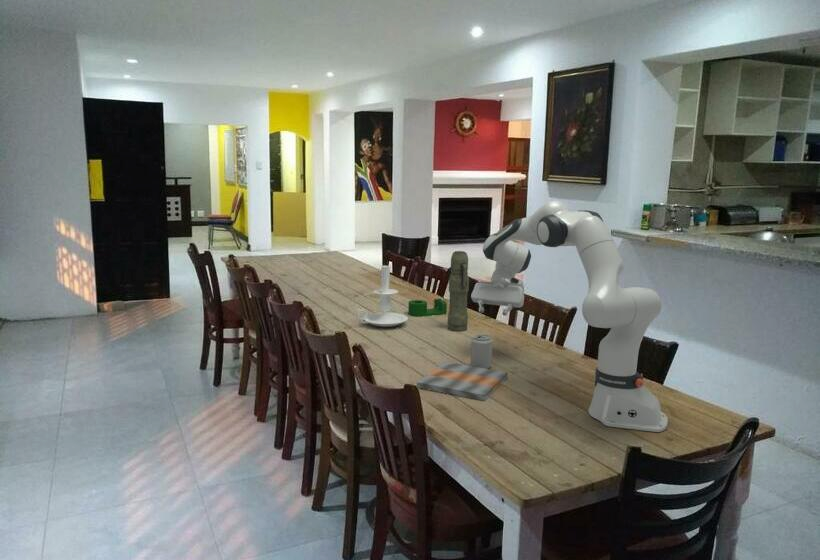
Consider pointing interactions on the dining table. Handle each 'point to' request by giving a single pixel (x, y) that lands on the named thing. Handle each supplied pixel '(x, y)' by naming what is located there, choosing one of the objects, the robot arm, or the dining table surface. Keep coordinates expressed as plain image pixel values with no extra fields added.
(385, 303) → the candlestick
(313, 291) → the dining table surface
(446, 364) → the grey orange flat square
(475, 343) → the can
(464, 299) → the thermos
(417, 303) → the slotted cylinder bracket
